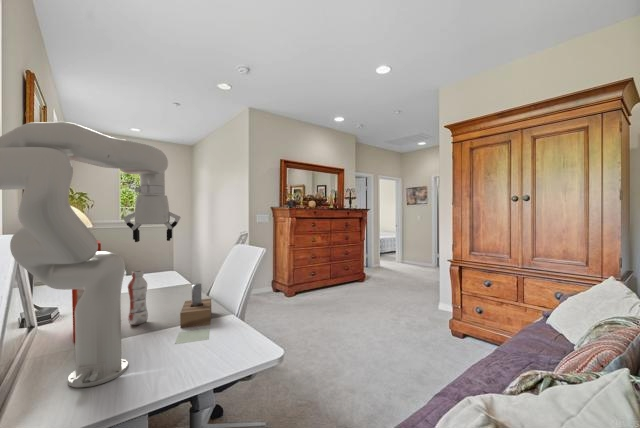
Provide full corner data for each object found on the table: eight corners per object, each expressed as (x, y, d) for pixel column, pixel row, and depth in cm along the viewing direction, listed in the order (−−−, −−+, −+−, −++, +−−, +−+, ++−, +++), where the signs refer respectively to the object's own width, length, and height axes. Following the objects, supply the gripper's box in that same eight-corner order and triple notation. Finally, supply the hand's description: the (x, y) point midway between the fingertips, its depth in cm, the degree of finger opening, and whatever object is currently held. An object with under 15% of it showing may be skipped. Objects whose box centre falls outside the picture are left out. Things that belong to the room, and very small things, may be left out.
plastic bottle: (152, 320, 115) (151, 269, 115) (140, 327, 109) (139, 273, 109) (136, 320, 116) (136, 269, 116) (123, 327, 109) (123, 273, 109)
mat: (208, 340, 96) (208, 339, 96) (174, 345, 93) (174, 343, 93) (209, 329, 105) (209, 328, 105) (178, 333, 102) (178, 332, 102)
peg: (201, 321, 114) (201, 285, 114) (191, 322, 113) (191, 285, 113) (202, 318, 117) (201, 283, 117) (192, 319, 116) (192, 283, 116)
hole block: (210, 325, 109) (209, 309, 109) (180, 329, 106) (180, 312, 106) (211, 312, 124) (211, 298, 124) (185, 315, 121) (185, 300, 121)
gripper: (119, 190, 96) (120, 243, 96) (178, 191, 101) (179, 241, 101) (126, 192, 103) (127, 241, 103) (181, 192, 108) (182, 239, 108)
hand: (153, 241), depth 102 cm, fingers open, 9 cm apart
